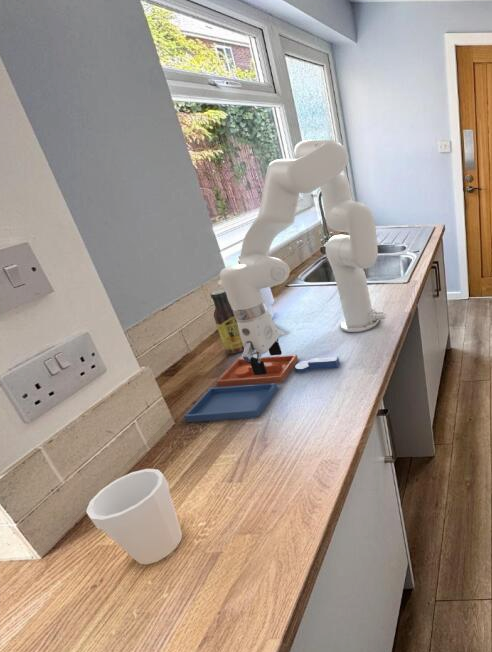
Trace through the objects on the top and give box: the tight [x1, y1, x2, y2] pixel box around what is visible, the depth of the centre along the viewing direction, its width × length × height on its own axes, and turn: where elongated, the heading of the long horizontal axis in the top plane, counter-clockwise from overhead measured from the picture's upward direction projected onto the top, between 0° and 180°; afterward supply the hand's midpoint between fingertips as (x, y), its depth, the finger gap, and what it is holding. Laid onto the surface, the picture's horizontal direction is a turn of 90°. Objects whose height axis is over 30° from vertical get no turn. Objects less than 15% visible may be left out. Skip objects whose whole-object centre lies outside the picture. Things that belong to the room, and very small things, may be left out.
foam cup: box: [85, 468, 183, 565], centre depth 66 cm, size 10×9×13 cm
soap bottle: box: [237, 255, 275, 319], centre depth 143 cm, size 10×10×24 cm
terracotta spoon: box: [235, 362, 282, 378], centre depth 115 cm, size 12×4×2 cm, turn 93°
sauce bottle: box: [209, 289, 244, 355], centre depth 125 cm, size 7×6×20 cm
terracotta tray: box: [216, 354, 299, 387], centre depth 115 cm, size 17×11×2 cm, turn 93°
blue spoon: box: [294, 356, 341, 373], centre depth 117 cm, size 12×4×2 cm, turn 93°
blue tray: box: [183, 383, 279, 424], centre depth 103 cm, size 17×11×2 cm, turn 93°
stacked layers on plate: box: [272, 317, 286, 337], centre depth 135 cm, size 10×9×6 cm
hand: (268, 364), depth 115 cm, fingers open, 9 cm apart
